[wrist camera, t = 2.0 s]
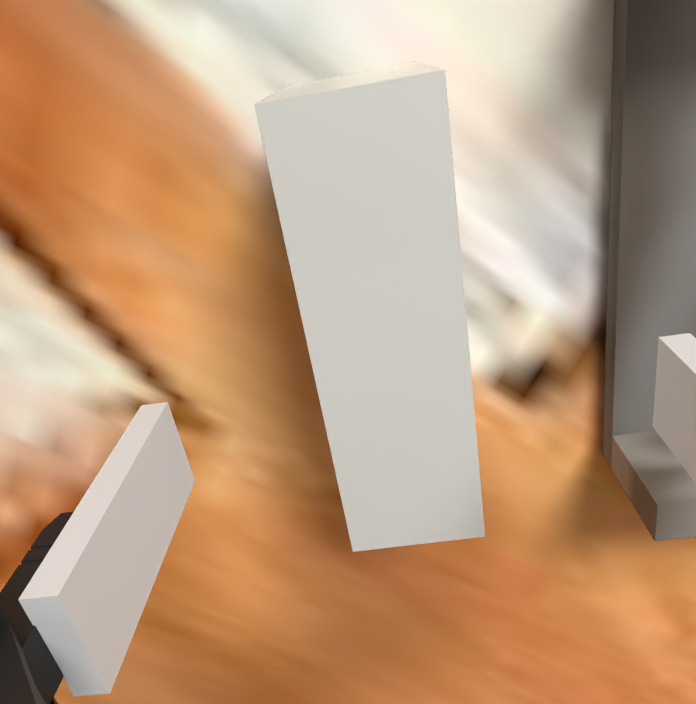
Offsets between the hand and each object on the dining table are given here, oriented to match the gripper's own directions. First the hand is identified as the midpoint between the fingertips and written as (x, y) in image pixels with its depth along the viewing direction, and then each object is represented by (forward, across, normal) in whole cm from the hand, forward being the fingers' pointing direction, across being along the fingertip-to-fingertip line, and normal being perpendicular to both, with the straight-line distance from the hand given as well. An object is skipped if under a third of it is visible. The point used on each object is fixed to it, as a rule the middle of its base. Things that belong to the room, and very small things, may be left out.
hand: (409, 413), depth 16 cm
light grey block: (+12, -1, 0) cm, 12 cm away
